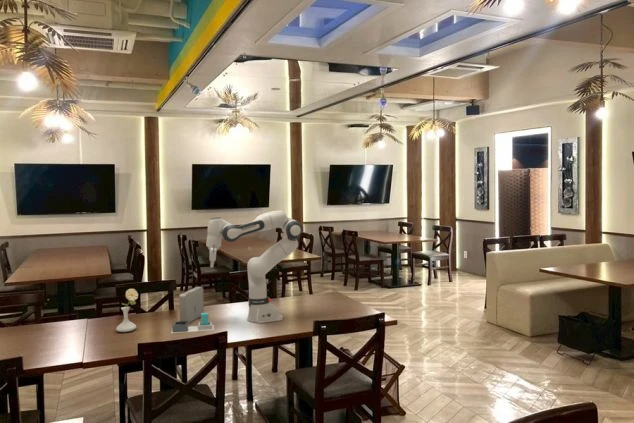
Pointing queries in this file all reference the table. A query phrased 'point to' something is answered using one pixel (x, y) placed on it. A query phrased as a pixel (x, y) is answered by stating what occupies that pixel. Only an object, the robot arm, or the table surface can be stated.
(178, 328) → the port
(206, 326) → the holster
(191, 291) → the network device
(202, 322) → the plug
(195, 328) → the board
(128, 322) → the flower in vase
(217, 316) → the table surface
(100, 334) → the table surface
